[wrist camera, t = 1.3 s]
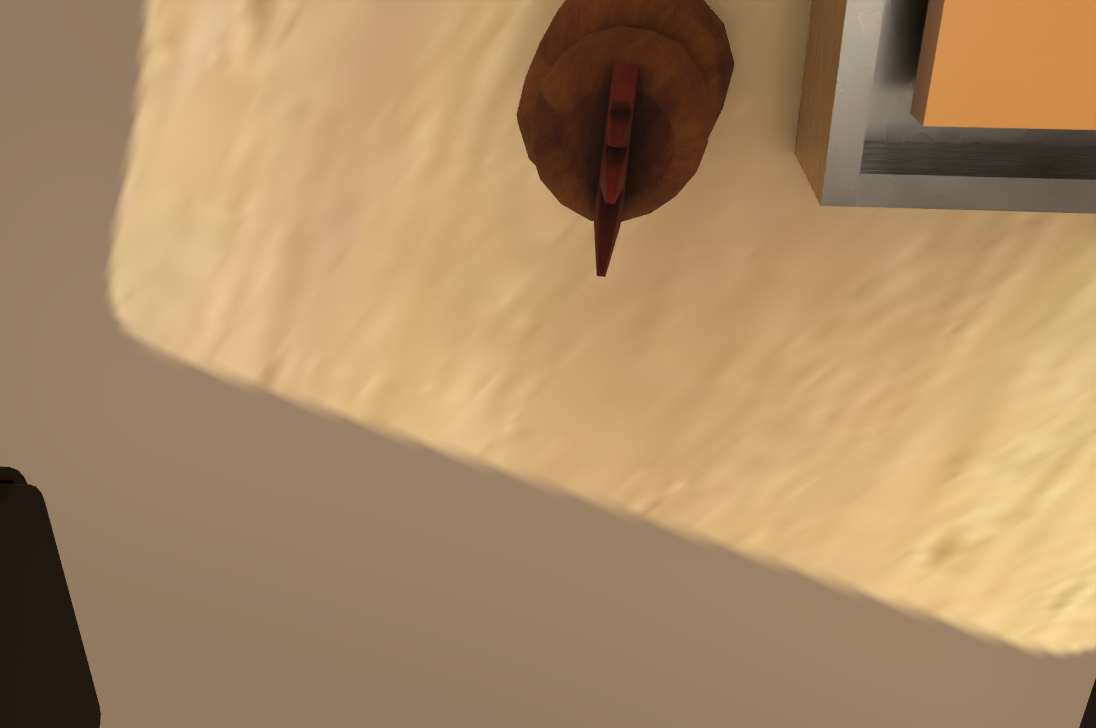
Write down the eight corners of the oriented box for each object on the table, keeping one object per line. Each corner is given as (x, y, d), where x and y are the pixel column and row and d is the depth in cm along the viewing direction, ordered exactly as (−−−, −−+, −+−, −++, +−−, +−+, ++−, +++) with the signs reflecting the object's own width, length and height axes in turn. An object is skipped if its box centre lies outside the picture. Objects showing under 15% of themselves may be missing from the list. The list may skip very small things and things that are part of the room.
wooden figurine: (652, 185, 36) (652, 375, 23) (509, 110, 35) (424, 260, 22) (753, 11, 33) (821, 111, 20) (599, -75, 32) (564, -32, 19)
